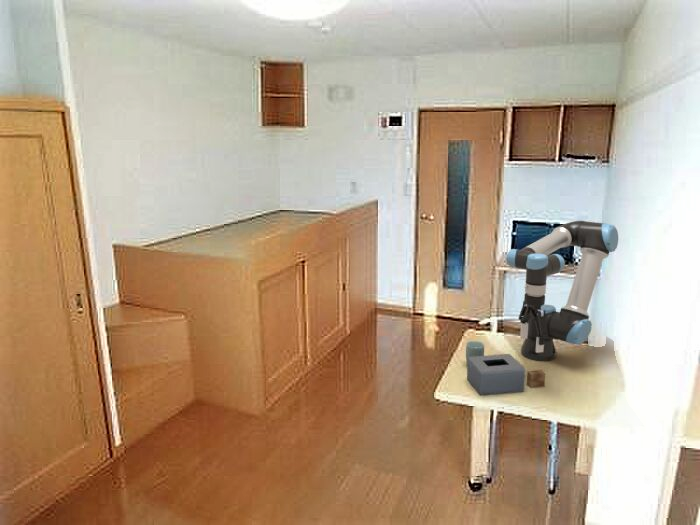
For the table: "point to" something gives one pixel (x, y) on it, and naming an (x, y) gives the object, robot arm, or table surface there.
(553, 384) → the table surface
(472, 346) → the cup
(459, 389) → the table surface
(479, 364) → the coin box
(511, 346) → the table surface
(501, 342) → the table surface
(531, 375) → the block
